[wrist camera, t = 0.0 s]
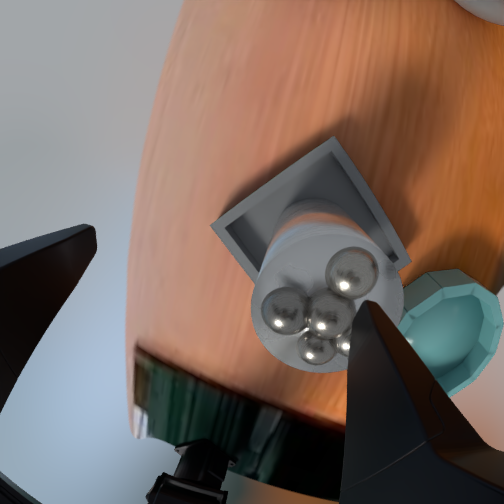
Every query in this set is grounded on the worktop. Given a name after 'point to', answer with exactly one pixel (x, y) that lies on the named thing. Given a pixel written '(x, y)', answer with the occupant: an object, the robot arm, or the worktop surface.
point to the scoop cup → (319, 286)
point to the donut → (485, 9)
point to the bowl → (451, 326)
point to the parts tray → (300, 187)
